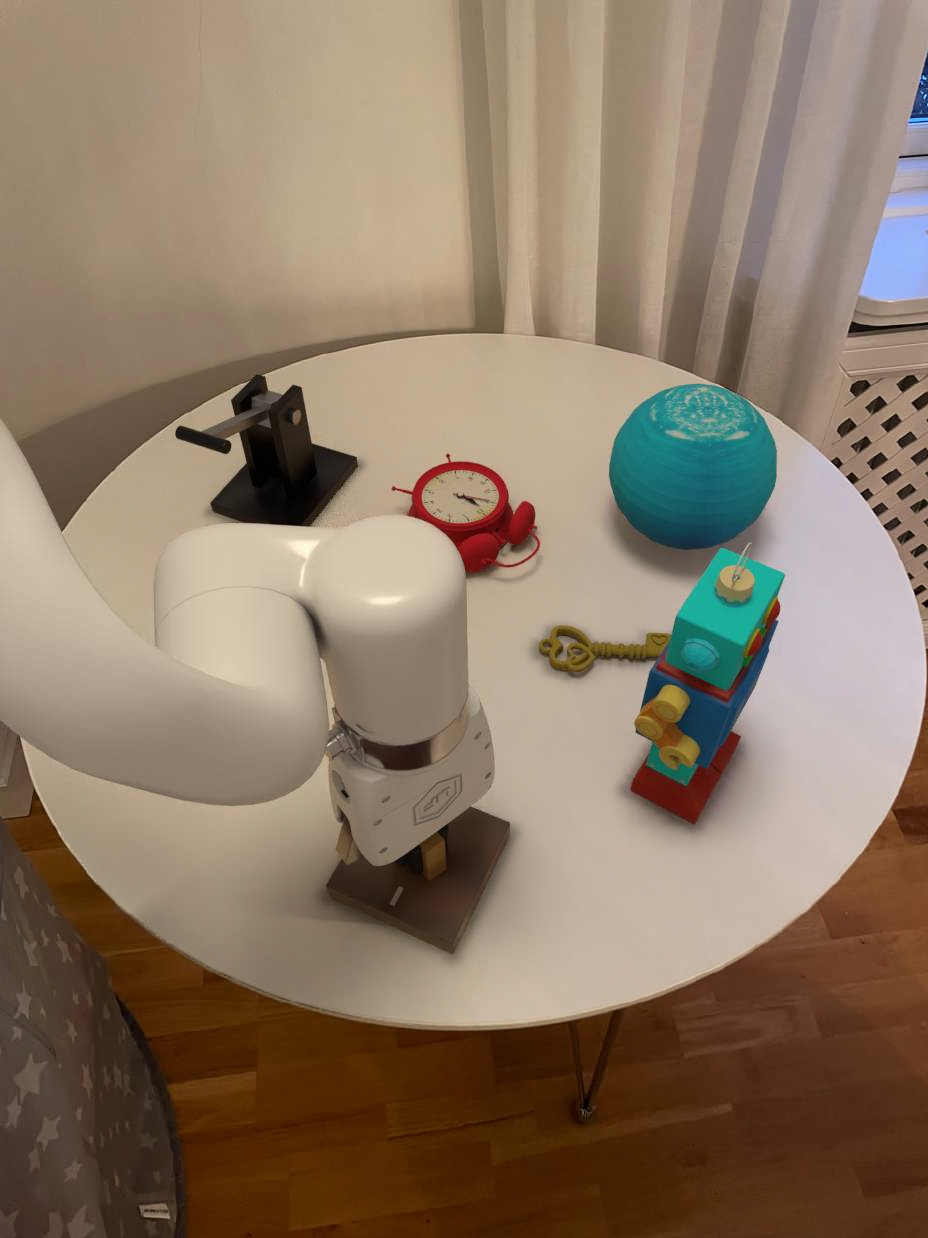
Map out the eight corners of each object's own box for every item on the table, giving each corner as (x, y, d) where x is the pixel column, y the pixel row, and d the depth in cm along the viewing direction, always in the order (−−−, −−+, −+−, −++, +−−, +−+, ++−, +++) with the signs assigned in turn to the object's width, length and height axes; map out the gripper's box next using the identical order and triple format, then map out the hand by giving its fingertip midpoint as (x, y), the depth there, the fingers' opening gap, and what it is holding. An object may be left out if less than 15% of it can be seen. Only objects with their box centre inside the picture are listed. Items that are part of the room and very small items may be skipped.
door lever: (223, 462, 79) (223, 436, 78) (175, 447, 81) (174, 420, 79) (300, 423, 89) (301, 399, 88) (255, 410, 90) (256, 386, 89)
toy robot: (685, 842, 70) (763, 635, 51) (612, 803, 72) (661, 590, 53) (744, 732, 76) (834, 510, 57) (676, 699, 78) (740, 474, 59)
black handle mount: (297, 540, 91) (277, 446, 82) (212, 511, 93) (183, 416, 84) (358, 465, 97) (345, 370, 88) (276, 440, 100) (256, 345, 91)
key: (676, 628, 81) (679, 675, 78) (674, 637, 82) (677, 684, 79) (540, 621, 82) (537, 667, 79) (539, 630, 83) (537, 675, 80)
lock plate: (453, 955, 65) (452, 943, 63) (328, 897, 68) (324, 884, 66) (509, 834, 71) (510, 821, 69) (393, 786, 73) (391, 772, 72)
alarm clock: (455, 439, 94) (563, 486, 85) (465, 491, 98) (569, 541, 89) (375, 488, 90) (479, 543, 80) (389, 540, 94) (490, 598, 84)
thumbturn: (447, 869, 67) (445, 838, 63) (429, 882, 66) (426, 852, 62) (410, 825, 69) (406, 793, 65) (393, 837, 68) (388, 806, 65)
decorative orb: (603, 580, 87) (622, 456, 75) (598, 472, 96) (614, 347, 85) (767, 586, 86) (811, 461, 74) (745, 477, 96) (782, 351, 84)
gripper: (323, 832, 48) (359, 959, 62) (550, 676, 54) (535, 824, 68) (249, 735, 52) (299, 876, 66) (468, 600, 58) (471, 755, 72)
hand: (419, 849), depth 67 cm, fingers closed, pressing on thumbturn
